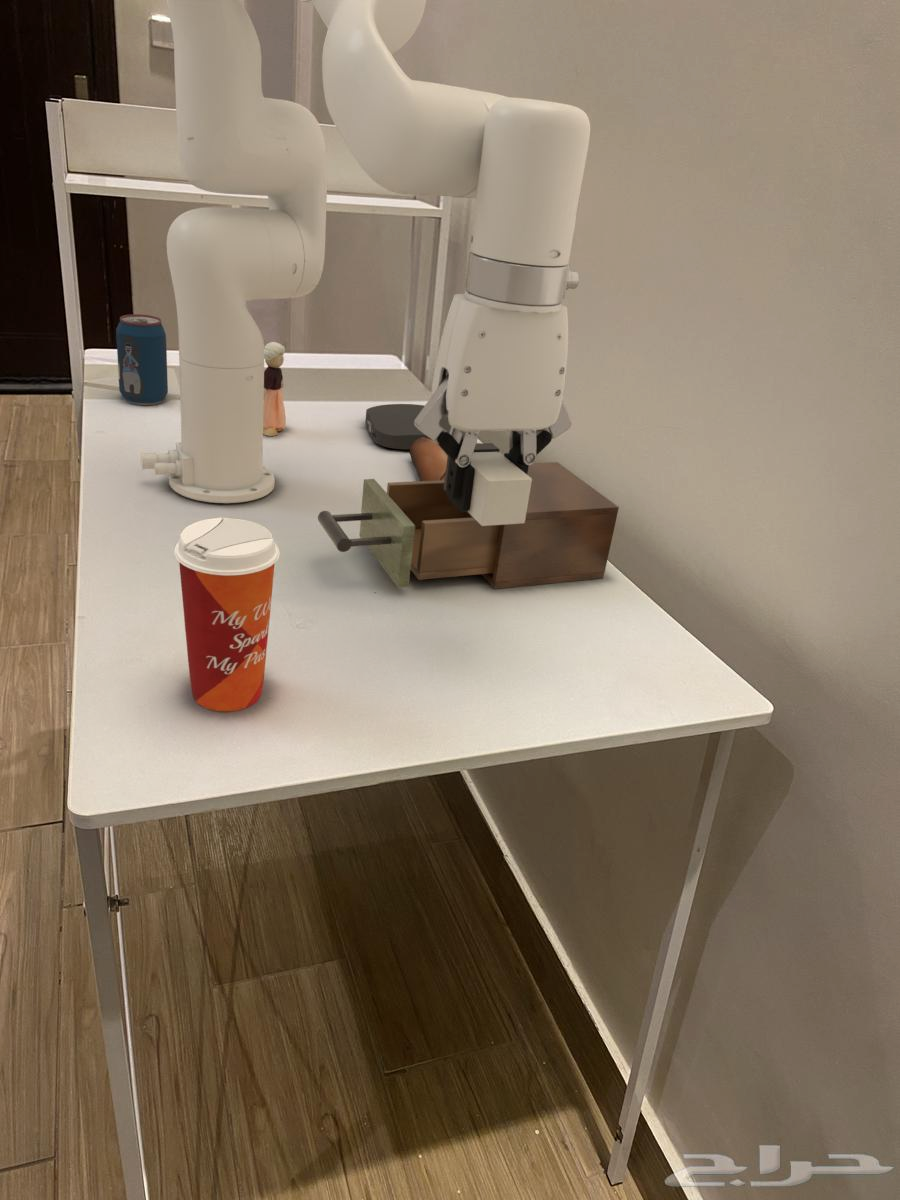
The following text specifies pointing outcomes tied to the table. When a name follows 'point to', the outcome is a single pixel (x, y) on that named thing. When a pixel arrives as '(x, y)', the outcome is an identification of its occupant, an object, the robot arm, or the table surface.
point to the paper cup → (226, 608)
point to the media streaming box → (397, 425)
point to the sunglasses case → (428, 459)
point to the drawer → (417, 532)
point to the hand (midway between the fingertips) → (483, 502)
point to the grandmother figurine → (273, 390)
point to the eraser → (496, 488)
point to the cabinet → (555, 532)
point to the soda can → (142, 359)
